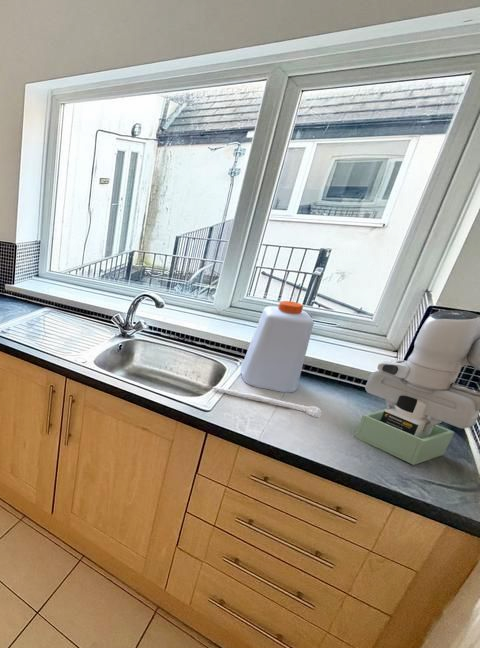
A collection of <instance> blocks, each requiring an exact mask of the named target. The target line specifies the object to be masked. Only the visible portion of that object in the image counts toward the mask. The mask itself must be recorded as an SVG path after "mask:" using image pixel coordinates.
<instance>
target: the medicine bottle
mask: <svg viewBox="0 0 480 648" xmlns="http://www.w3.org/2000/svg"><path fill="white" fill-rule="evenodd" d="M394 407H395V408H391V409H387V408H386V409H387V410H384V409H383V410H384V413H383V415H382V418H381V420H380V421H381V422H383V423H386V424H388V425H390V426H393V427H395V428H397V429H400V430H402V431H404V432H407V433H409V434H412V435H414V436H416V437H419V438H421V439H424V438H427V437H429V435H430V433H431V431H432V429H433V427H434V426H432V429H431V431H430V432H429V433H425V432H423V429H424V427H425V426H426V425H428V424H430V423H432V421H430V418H431V417H429V416H427V415H424V414H423V412H424V409H425V407H426V405H425V404H424V403H423V402H421V401H419V400H417V399H414V398H411V397H408V396H399V399H398V401H397V403H396V405H394Z"/></svg>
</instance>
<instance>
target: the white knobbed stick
mask: <svg viewBox="0 0 480 648" xmlns="http://www.w3.org/2000/svg"><path fill="white" fill-rule="evenodd" d="M212 390H214V391H217V392H220V393H223V394H227V395H232V396H235V397H240V398H243V399H249V400H253V401H256V402H257V401H258V402H262V403H267V404H271V405H274V406H279V407H284V408H287V409H292V410H296V411H300V412H302V413H303V412H304V413H306V415H309V416H311V417H314V418H321V417H322V413H323V412H322V409H321V408H319V407H318V406H314V405H309V406H307V405H303V404H299V403H293V402H289V401H285V400H280V399H276V398H271V397H267V396H263V395H259V394H254V393H249V392H244V391H240V390H235V389H231V388H223V387H219V386H212Z"/></svg>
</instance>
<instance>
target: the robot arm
mask: <svg viewBox="0 0 480 648" xmlns="http://www.w3.org/2000/svg"><path fill="white" fill-rule="evenodd" d="M413 346H414V348H413V351H412V352H411V353H410V355H409V356H408V357H407V359H406V360H400V359H393V360H386V361H383V362H379V363H378V365H377V370H375V371H373V372H372V373H371V374H370V376H369V377H368V379H367V382H366V383H365V387H364V389H365V391H366V393H367V394H369V395H372V396H375V397H378V398H380V399H383V400H386V401H385V407H386V409H391V408H395V406H396V403H397V401H398V399H399V396H408V397H411V398H414V399H417V400H419V401H421V402H423V403H424V404H425V405H426V407H425V409H424V412H423V414H424V415H427V416H429V417H431V418H430V421H432V423H430V424H428V425H426V426H425V427H424V429H423V432H425V433H429V432H430V431H431V429H432V426H435V425H440V424H442V423H445V424H448V425H451V426H453V427H455V428H458V429H462V430H463V429H468V428H471V427H473V426H475V424H476V422H477V420H478V419H479V414H480V391H478V390H476V389H473V388H472V389H471V388H469V387H466V386H463V385H461V384H457V383H456V381H457V378H458V376H459V374H460V372H461V371H462V368H463V367H464V366H469V367H473V368H474V369H476V370H478V371H480V316H479V315H478V314H477V313H475V312H471V311H466V310H455V309H454V310H453V309H452V310H451V309H449V310H439V311H436V312H433V313H432V314H430V315H429V316H428V317H427V318H426V319H425V320H424V323H423V324H422V326H421V328H420V329H419V332H418V333H417V336H416V338H415V340H414V344H413Z"/></svg>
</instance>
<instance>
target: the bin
mask: <svg viewBox="0 0 480 648" xmlns="http://www.w3.org/2000/svg"><path fill="white" fill-rule="evenodd" d="M384 410H387V408H385V409H380V410H377V411H373V412H369V413H365V414H362V415H361V418H360V421H359V423H358V426H357V428H356V431H355V432H354V433H355V434H354V438H356V439H357V440H360V441H362V442H364V443H366V444H368V445H371V447H375V448H377V449H379V450H381V451H383V452H385V453H387V454H390V455H391V456H394V457H396V458H398V459H400V460H402V461H404V462H406V463H409V464H410V465H412V466H415V465H418V464H420V463H423V462H426V461H430V460H432V459H435V458H436V459H437V458H438V457H441V456H444V455H445V453H446V450H447V448H448V446H449V444H450V442H451V441H452V438H453V436H454V435H455V431H453V430H450V429H449V428H445V427H443V426H441V425H439V424H437V425H435V426H434V427H433V429H432V431H431V433H430V435H429V437H427V438H424V439H421V438H419V437H416V436H414V435H412V434H409V433H407V432H404V431H402V430H400V429H397V428H395V427H393V426H390V425H388V424H386V423H383V422H381V421H380V420H381V418H382V415H383V413H384Z"/></svg>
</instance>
